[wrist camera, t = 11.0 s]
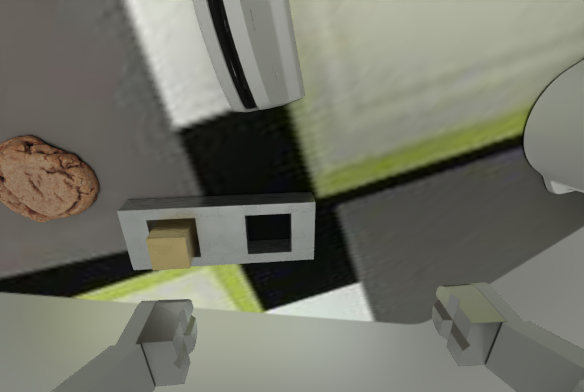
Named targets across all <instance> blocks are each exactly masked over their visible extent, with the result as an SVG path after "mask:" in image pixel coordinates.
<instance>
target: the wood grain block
mask: <svg viewBox="0 0 584 392" xmlns="http://www.w3.org/2000/svg"><path fill="white" fill-rule="evenodd" d="M146 243H147V247H148V252H149V256H150V260H151V264H152V269H153V270H165V269H184V268H190V267H191V264H192V261H193V258H194V256H195V253H196V250H197V247H198V244H199V239H198V233H197V227H196V220H195V218H182V219H161V220H158V221H157V223H156V224H155V226H154V227H153V229H152V230H151V232H150V233H149V235H148V236H147V238H146Z"/></svg>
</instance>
